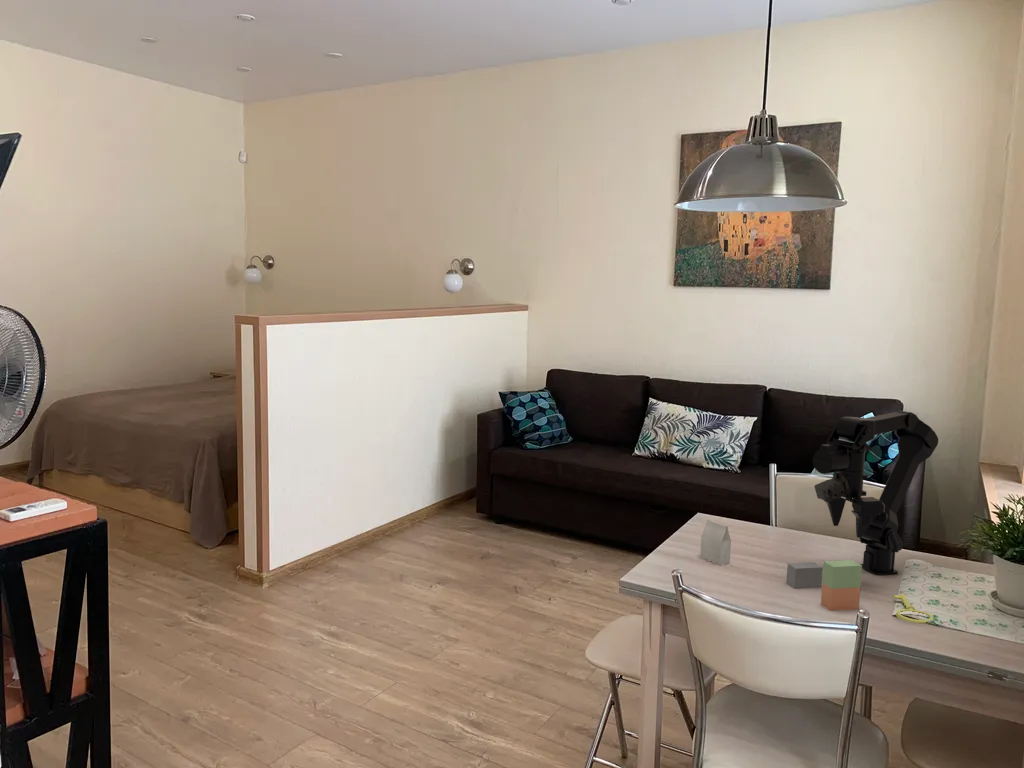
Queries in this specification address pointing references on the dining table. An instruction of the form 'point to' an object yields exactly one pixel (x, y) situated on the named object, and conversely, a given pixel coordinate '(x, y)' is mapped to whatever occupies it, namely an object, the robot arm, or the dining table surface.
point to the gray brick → (804, 575)
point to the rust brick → (840, 598)
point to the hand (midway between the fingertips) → (847, 531)
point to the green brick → (842, 574)
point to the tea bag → (716, 543)
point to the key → (909, 608)
